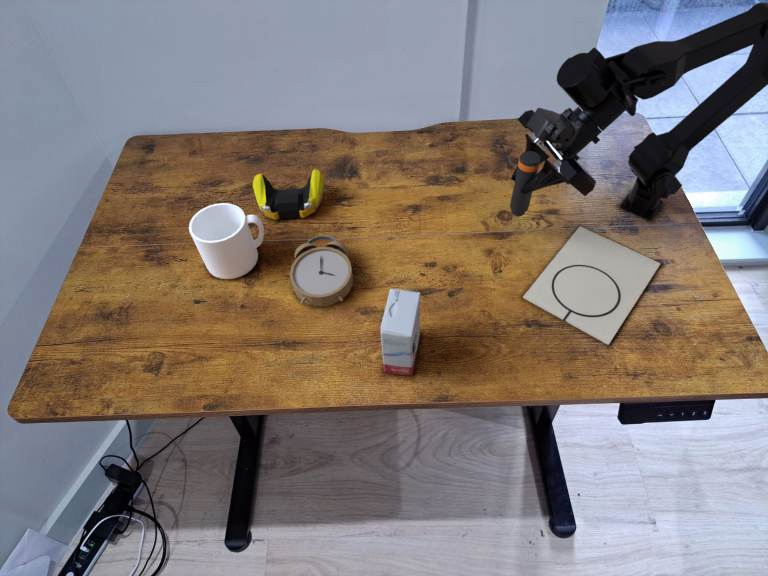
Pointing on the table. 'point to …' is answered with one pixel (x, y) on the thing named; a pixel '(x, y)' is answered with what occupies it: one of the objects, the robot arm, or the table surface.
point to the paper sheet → (592, 284)
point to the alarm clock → (321, 272)
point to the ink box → (400, 331)
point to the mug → (226, 239)
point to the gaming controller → (289, 197)
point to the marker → (524, 182)
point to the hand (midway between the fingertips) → (517, 186)
